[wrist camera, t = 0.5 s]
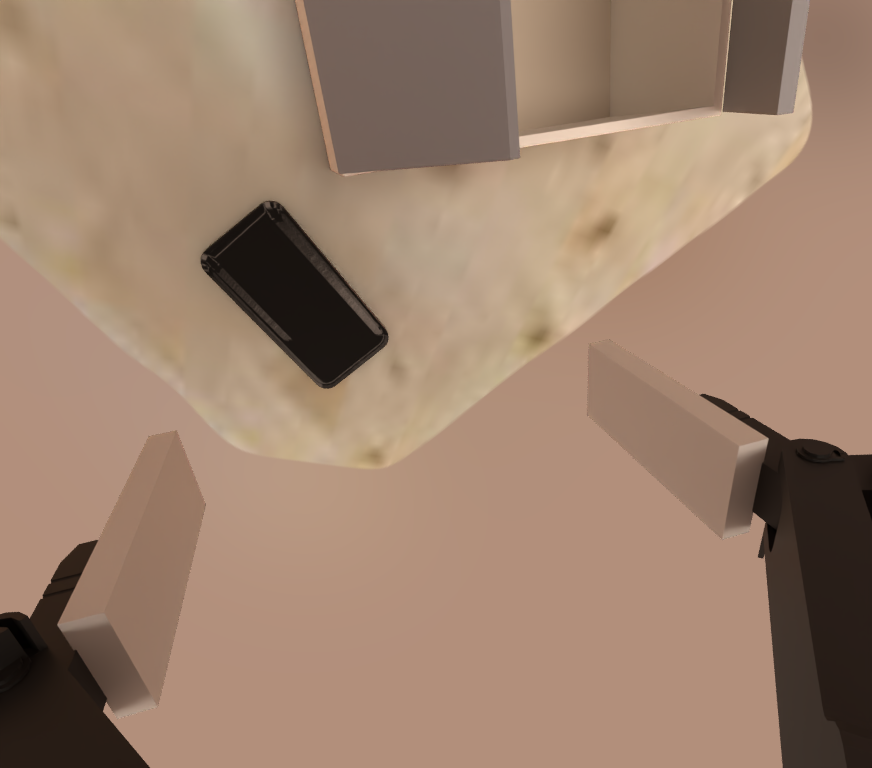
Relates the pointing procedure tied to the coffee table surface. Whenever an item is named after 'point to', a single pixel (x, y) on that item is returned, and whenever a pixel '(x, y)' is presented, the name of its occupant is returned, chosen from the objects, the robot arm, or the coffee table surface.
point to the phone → (295, 294)
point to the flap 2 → (764, 55)
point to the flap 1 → (416, 81)
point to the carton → (601, 66)
